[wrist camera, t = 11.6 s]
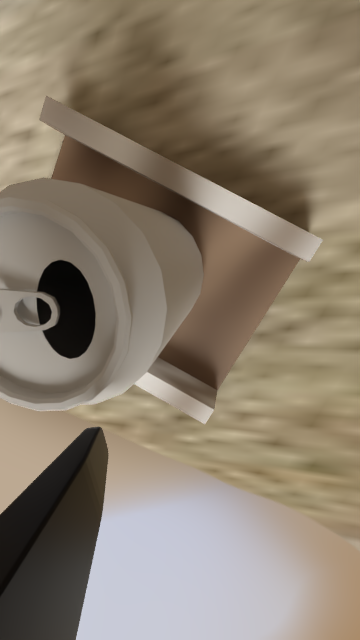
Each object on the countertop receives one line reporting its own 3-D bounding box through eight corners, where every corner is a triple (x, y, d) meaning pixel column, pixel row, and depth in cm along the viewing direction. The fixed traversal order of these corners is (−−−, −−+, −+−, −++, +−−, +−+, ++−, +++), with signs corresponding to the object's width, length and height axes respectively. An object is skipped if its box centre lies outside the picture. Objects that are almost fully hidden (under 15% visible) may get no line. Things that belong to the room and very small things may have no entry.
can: (203, 330, 20) (153, 451, 9) (97, 323, 21) (-68, 419, 10) (207, 209, 18) (148, 157, 7) (90, 210, 19) (-125, 168, 8)
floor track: (308, 239, 18) (322, 239, 15) (210, 396, 22) (204, 424, 19) (80, 120, 19) (46, 95, 16) (24, 291, 23) (-13, 300, 20)
